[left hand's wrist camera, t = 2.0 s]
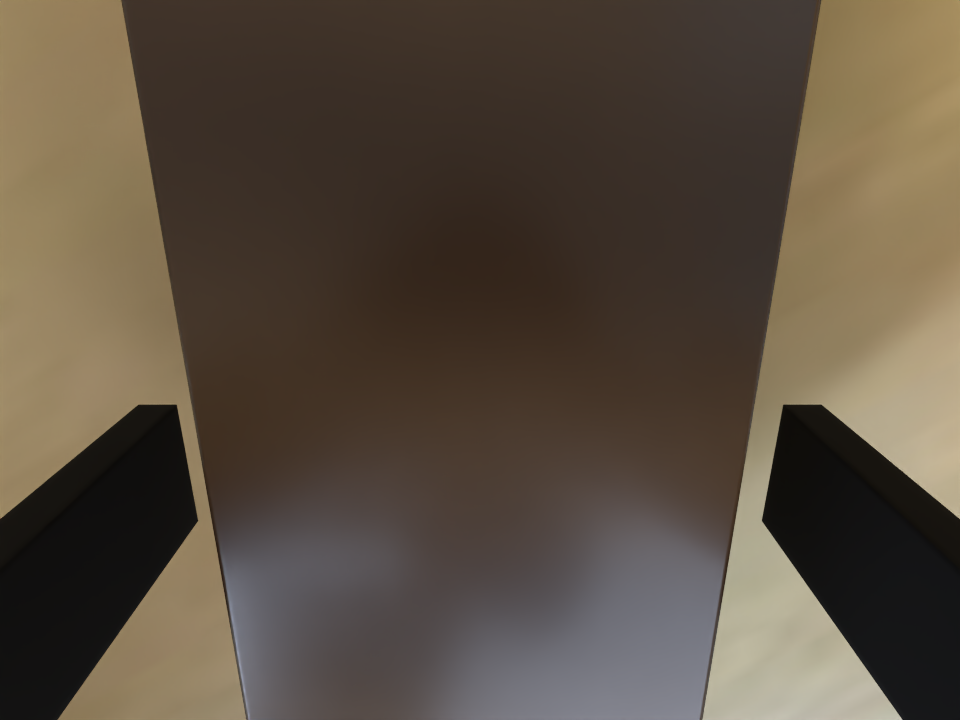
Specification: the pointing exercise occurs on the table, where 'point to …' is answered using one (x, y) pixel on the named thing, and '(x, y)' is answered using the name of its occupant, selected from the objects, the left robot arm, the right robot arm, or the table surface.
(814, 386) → the table surface
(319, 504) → the bar
